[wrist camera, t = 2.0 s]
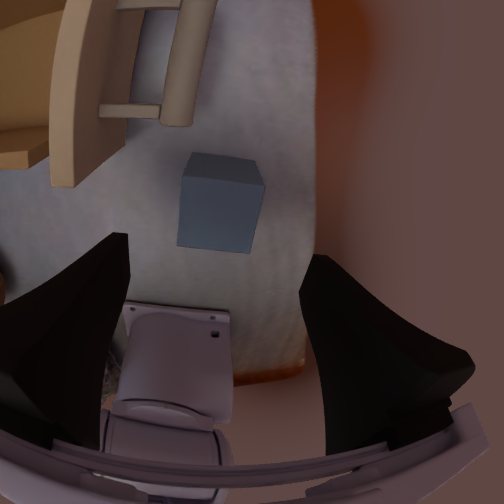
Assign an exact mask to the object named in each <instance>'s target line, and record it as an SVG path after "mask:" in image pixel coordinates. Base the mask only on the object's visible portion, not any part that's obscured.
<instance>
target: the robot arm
mask: <svg viewBox="0 0 504 504" xmlns="http://www.w3.org/2000/svg"><path fill="white" fill-rule="evenodd" d="M130 277H131V274H130V262H129V246H128V234H126V233H117V232H113V233H111V234H110V235H108V236H107V237H106V238H104V239H103V240H102V241H100V242H99V243H98V244H97V245H95V246H94V247H93V248H92V249H90V250H89V251H88V252H87V253H85V254H84V255H83V256H82V257H80V258H79V259H78V260H76V261H75V262H74V263H72V264H71V265H69V266H68V267H67V268H65V269H64V270H63V271H61V272H60V273H59V274H57V275H56V276H54V277H53V278H51V279H50V280H48V281H47V282H45V283H43V284H42V285H40V286H39V287H37V288H35V289H33V290H32V291H30V292H28V293H26V294H24V295H22V296H21V297H19V298H17V299H15V300H13V301H11V302H9V303H7V304H5V305H3V306H0V494H1V495H3V496H4V497H6V498H8V499H9V500H11V501H12V502H14V503H16V504H224V502H225V499H226V495H227V493H228V491H229V490H230V488H251V487H263V486H273V485H282V484H290V483H297V482H303V481H309V480H314V479H319V478H324V477H328V476H333V475H338V474H341V473H346V472H350V471H352V472H351V473H349V474H346V475H343V476H340V477H336V478H333V479H330V480H328V481H327V482H325V483H323V484H320V485H318V486H315V487H311V488H308V489H306V491H305V494H306V497H305V498H299V499H293V500H287V501H279V502H271V503H261V504H416V503H417V502H419V501H420V500H422V499H424V498H425V497H427V496H428V495H430V494H431V493H432V492H434V491H435V490H437V489H438V488H439V487H441V486H442V485H444V484H445V483H446V482H448V481H449V480H450V479H451V478H453V477H454V476H456V475H457V474H458V473H459V472H461V471H462V470H463V469H464V468H465V467H467V466H468V465H469V464H470V463H472V462H473V461H474V460H475V459H477V458H478V457H479V456H481V455H482V454H483V453H485V452H486V451H487V450H488V449H489V448H490V445H489V442H488V440H487V437H486V435H485V432H484V430H483V428H482V425H481V423H480V421H479V418H478V416H477V414H476V412H475V410H474V407H473V405H472V403H468V404H466V405H464V406H461V407H459V408H457V409H455V410H454V411H452V412H451V413H450V411H449V409H448V407H450V406H451V405H452V402H451V400H450V398H449V397H450V396H451V395H452V394H453V393H455V392H456V391H457V390H458V389H459V388H460V387H461V386H462V385H463V384H464V383H465V382H466V381H467V380H468V379H469V378H470V377H471V376H472V375H473V373H474V371H475V364H474V362H473V361H472V359H471V357H470V355H469V354H468V353H467V352H466V351H465V350H462V349H460V348H457V347H455V346H453V345H450V344H448V343H445V342H443V341H441V340H439V339H437V338H435V337H433V336H431V335H429V334H428V333H426V332H424V331H422V330H421V329H419V328H417V327H416V326H414V325H413V324H411V323H409V322H408V321H406V320H405V319H403V318H402V317H400V316H399V315H397V314H396V313H395V312H393V311H392V310H390V309H389V308H388V307H386V306H385V305H384V304H383V303H382V302H380V301H379V300H378V299H377V298H376V297H374V296H373V295H372V294H371V293H370V292H368V291H367V290H366V289H365V288H364V287H363V286H362V285H361V284H359V283H358V282H357V281H356V280H355V279H354V278H353V277H352V276H350V275H349V274H348V273H347V272H346V271H345V270H344V269H343V268H342V267H341V266H340V265H338V264H337V263H336V262H335V261H334V260H332V259H331V258H330V257H328V256H327V255H319V254H313V256H312V259H311V261H310V264H309V267H308V269H307V272H306V275H305V277H304V280H303V282H302V285H301V287H300V290H299V298H300V305H301V311H302V315H303V319H304V322H305V325H306V328H307V332H308V335H309V338H310V341H311V344H312V348H313V351H314V354H315V357H316V361H317V365H318V370H319V376H320V382H321V388H322V396H323V404H324V416H325V433H326V456H323V457H318V458H311V459H305V460H299V461H291V462H282V463H271V464H259V465H234V463H233V454H232V449H231V446H230V443H229V441H228V440H227V438H226V437H225V436H224V434H223V433H222V432H221V431H220V430H218V429H213V425H214V424H226V423H229V421H230V419H231V414H232V407H233V371H232V358H231V344H230V329H229V322H230V314H229V313H228V312H221V311H209V310H198V309H187V308H177V307H168V306H159V305H150V304H142V303H134V302H125V299H126V295H127V291H128V286H129V282H130ZM132 307H134V308H132ZM121 310H123V316H124V322H125V327H126V332H127V337H128V341H127V345H126V350H125V354H124V359H123V364H122V369H121V374H120V379H119V384H118V390H117V396H116V400H113V401H112V407H111V414H110V410H107V409H102V410H101V398H102V389H103V380H104V373H105V367H106V361H107V355H108V351H109V347H110V344H111V340H112V337H113V334H114V331H115V328H116V325H117V322H118V319H119V316H120V313H121Z"/></svg>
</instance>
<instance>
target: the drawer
mask: <svg viewBox="0 0 504 504" xmlns="http://www.w3.org/2000/svg"><path fill="white" fill-rule="evenodd" d="M217 2H218V0H0V170H3V169H29V168H31V167H32V166H34V165H35V164H37V163H38V162H40V161H41V160H43V159H45V158H46V157H48V156H49V160H50V176H51V186H52V187H67V188H75V187H76V186H77V185H78V184H79V183H80V182H81V181H83V180H84V179H85V178H86V177H87V176H88V175H89V174H91V173H92V172H93V171H94V170H95V169H96V168H98V167H99V166H100V165H101V164H102V163H103V162H105V161H106V160H107V159H108V158H110V157H111V156H112V155H113V154H115V153H116V152H117V151H118V150H120V149H121V148H122V147H124V146H125V138H126V125H127V118H144V119H159V118H160V121H159V122H160V124H162V125H165V126H172V127H189V126H191V125H192V123H193V117H194V110H195V104H196V98H197V93H198V87H199V82H200V76H201V71H202V66H203V61H204V56H205V52H206V47H207V43H208V38H209V34H210V29H211V25H212V21H213V17H214V13H215V9H216V5H217ZM145 10H180V12H179V16H178V20H177V24H176V28H175V33H174V37H173V42H172V47H171V52H170V57H169V62H168V67H167V73H166V79H165V85H164V92H163V98H162V105H161V104H140V103H129V96H130V88H131V80H132V74H133V67H134V61H135V56H136V50H137V45H138V40H139V35H140V31H141V26H142V22H143V18H144V14H145Z"/></svg>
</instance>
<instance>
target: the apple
mask: <svg viewBox="0 0 504 504" xmlns="http://www.w3.org/2000/svg"><path fill="white" fill-rule="evenodd" d="M4 300H5V284H4V280H3V277H2V274H1V272H0V306H3V305H4Z"/></svg>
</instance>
